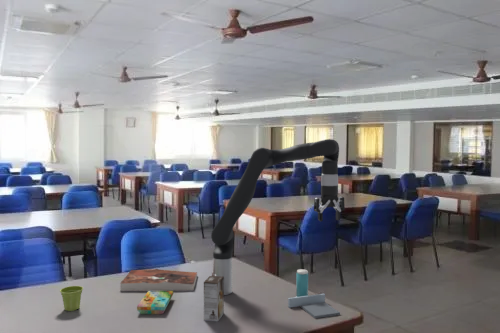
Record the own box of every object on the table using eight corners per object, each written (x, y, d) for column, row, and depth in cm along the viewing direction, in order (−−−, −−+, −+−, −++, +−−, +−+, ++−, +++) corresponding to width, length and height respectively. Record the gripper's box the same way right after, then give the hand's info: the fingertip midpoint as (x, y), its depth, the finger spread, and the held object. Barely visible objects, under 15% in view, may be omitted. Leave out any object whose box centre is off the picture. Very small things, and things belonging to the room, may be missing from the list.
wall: (288, 307, 194) (289, 298, 194) (288, 306, 195) (288, 298, 195) (324, 302, 200) (324, 294, 200) (323, 302, 201) (323, 293, 201)
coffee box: (209, 312, 189) (209, 275, 188) (224, 313, 187) (224, 276, 187) (203, 320, 180) (203, 281, 179) (218, 321, 178) (218, 282, 178)
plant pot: (61, 314, 185) (60, 294, 185) (59, 306, 193) (59, 287, 193) (84, 310, 189) (84, 290, 189) (82, 303, 198) (81, 284, 197)
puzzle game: (137, 304, 185) (148, 289, 205) (137, 315, 185) (148, 298, 205) (164, 304, 185) (173, 289, 205) (164, 315, 185) (173, 299, 205)
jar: (299, 300, 203) (299, 273, 202) (294, 296, 208) (294, 269, 207) (310, 299, 205) (310, 271, 204) (304, 295, 210) (304, 268, 209)
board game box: (197, 277, 240) (197, 267, 239) (193, 291, 217) (193, 281, 216) (131, 277, 238) (131, 268, 238) (120, 291, 215) (120, 281, 215)
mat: (314, 318, 182) (314, 316, 182) (300, 307, 195) (300, 305, 194) (339, 314, 186) (340, 312, 186) (324, 304, 199) (324, 302, 199)
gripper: (339, 183, 201) (338, 218, 202) (311, 184, 196) (310, 220, 197) (348, 184, 194) (347, 221, 195) (319, 185, 189) (319, 223, 190)
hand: (329, 220), depth 196 cm, fingers open, 8 cm apart
